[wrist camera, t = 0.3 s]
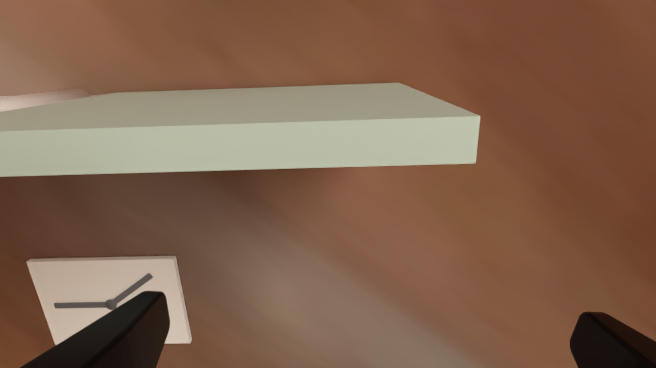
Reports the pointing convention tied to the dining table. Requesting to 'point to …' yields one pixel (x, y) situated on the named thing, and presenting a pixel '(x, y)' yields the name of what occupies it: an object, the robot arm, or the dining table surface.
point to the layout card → (105, 290)
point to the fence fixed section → (40, 98)
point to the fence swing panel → (236, 131)
